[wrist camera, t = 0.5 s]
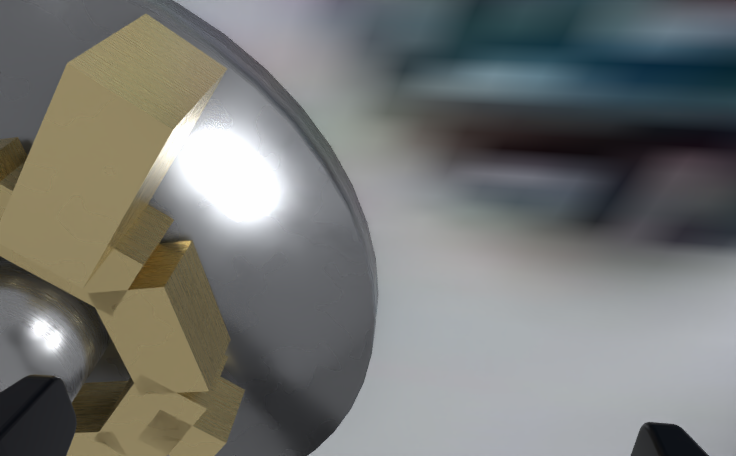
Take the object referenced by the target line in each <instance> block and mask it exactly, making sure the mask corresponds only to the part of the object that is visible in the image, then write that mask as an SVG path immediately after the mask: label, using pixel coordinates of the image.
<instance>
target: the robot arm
mask: <svg viewBox="0 0 736 456" xmlns="http://www.w3.org/2000/svg"><path fill="white" fill-rule="evenodd" d="M76 424H77V420H76V414H75V411H74V408H73V406H72V403H71V400H70V398H69V395H68V392H67V389H66V387H65V384H64V382H63V380H62V379H60V378H59V377H57V376H51V375H38V374H33V375H28V376H26V377H24V378H22V379H20V380H19V381H17V382H16V383H14V384H13V385H11V386H10V387H8V388H7V389H5V390H3V391H2V392H0V456H66V455H67V453H68V450H69V448H70V445H71V442H72V440H73V437H74V434H75V431H76ZM631 456H709V455H708V454H707V453H706V452H705V451H704V450H703V449H702V448H701V447H700V446H699V445H698V444H697V443H696V442H695V441H694V440H693V439H692V438H691V437H690V436H689V435H688V434H687V433H686V432H685V431H684V430H683V429H682V428H681V427H679V426H677V425H675V424H667V423H654V422H647V423H645V424H643V425H642V427H641V428H640V431H639V433H638V436H637V439H636V442H635V445H634V448H633V451H632V454H631Z"/></svg>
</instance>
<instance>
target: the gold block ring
mask: <svg viewBox="0 0 736 456" xmlns="http://www.w3.org/2000/svg"><path fill="white" fill-rule="evenodd" d="M226 70H227V68H226V67H224V66H223V65H221V64H220V63H218V62H217V61H216V60H214V59H213V58H211V57H210V56H208V55H207V54H205V53H204V52H202V51H201V50H199V49H198V48H196V47H195V46H193V45H192V44H190V43H189V42H187V41H186V40H184V39H183V38H182V37H180V36H179V35H177V34H176V33H174V32H173V31H171V30H170V29H168V28H167V27H165V26H164V25H162V24H161V23H159V22H158V21H156V20H155V19H153V18H152V17H150V16H149V15H147V14H144V15H143V16H141V17H140V18H138V19H136V20H135V21H133V22H132V23H130V24H128V25H127V26H125V27H124V28H122V29H120V30H119V31H117V32H116V33H114V34H113V35H111V36H109V37H108V38H106V39H105V40H103V41H101V42H100V43H98V44H97V45H95V46H93V47H92V48H90V49H89V50H87V51H85V52H84V53H82V54H81V55H79V56H78V57H76V58H74V59H73V60H71V61H70V62H68V63H67V64H66V67H65V69H64V72H63V74H62V76H61V79H60V81H59V83H58V86H57V88H56V90H55V93H54V95H53V98H52V100H51V102H50V105H49V107H48V109H47V112H46V114H45V116H44V119H43V121H42V124H41V126H40V128H39V131H38V133H37V135H36V138H35V140H34V142H33V145H32V147H31V150H30V152H29V154H28V156H27V154H26V152H25V150H24V148H23V146H22V144H21V142H20V140H19V138H18V137H14V138H6V139H0V256H1V257H3V258H5V259H6V260H8V261H10V262H12V263H14V264H16V265H17V266H19V267H21V268H23V269H25V270H27V271H29V272H30V273H32V274H34V275H36V276H38V277H40V278H42V279H43V280H45V281H47V282H49V283H51V284H53V285H55V286H56V287H58V288H60V289H62V290H64V291H66V292H68V293H69V294H71V295H73V296H75V297H77V298H79V299H80V300H82V301H84V302H86V303H88V304H90V305H92V306H93V307H95V308H96V310H97V312H98V314H99V316H100V318H101V320H102V322H103V324H104V326H105V328H106V330H107V331H108V333H109V335H110V337H111V339H112V341H113V343H114V345H115V347H116V349H117V351H118V353H119V355H120V357H121V359H122V361H123V362H124V364H125V366H126V368H127V370H128V372H129V374H130V376H131V377H130V379H129V380H128V381H111V382H92V383H84V384H83V386H82V388H81V389H80V391H79V392H78V394H77V395H76V397H75V398H74V400H73V402H72V406H73V408H74V411H75V414H76V420H77V424H76V431H75V434H74V437H73V440H72V442H71V445H70V448H69V450H68V453H67V455H66V456H167V455H170V456H215V455H216V454H217V453H218V452H219V450H220V449H221V448H222V447H223V446H224V445H225V444H226V443H227V440H228V437H229V434H230V431H231V429H232V426H233V423H234V420H235V417H236V414H237V412H238V409H239V406H240V403H241V400H242V397H243V394H244V392H245V390H244V389H243V388H241V387H239V386H237V385H235V384H233V383H231V382H230V381H228V380H226V379H224V378H222V377H220V376H221V373H222V371H223V369H224V366H225V364H226V361H227V359H228V356H226V355H224V354H225V352H226V349H227V347H228V345H229V342H230V340H231V339H230V336H229V334H228V331H227V329H226V326H225V323H224V321H223V318H222V316H221V313H220V310H219V308H218V305H217V303H216V300H215V298H214V295H213V292H212V290H211V287H210V285H209V282H208V279H207V277H206V274H205V272H204V269H203V266H202V264H201V261H200V259H199V256H198V253H197V251H196V248H195V246H194V243H193V240H189V241H178V242H168V243H160V242H161V240H162V238H163V237H164V235H165V234H166V232H167V230H168V229H169V227H170V226H171V224H172V223H173V221H174V219H172V218H170V217H169V216H167V215H165V214H164V213H162V212H160V211H159V210H157V209H155V208H154V207H152V206H150V205H149V202H150V200H151V198H152V197H153V195H154V193H155V192H156V190H157V188H158V186H159V185H160V183H161V181H162V180H163V178H164V176H165V175H166V173H167V171H168V169H169V168H170V166H171V164H172V163H173V161H174V159H175V157H176V156H177V154H178V152H179V151H180V149H181V147H182V146H183V144H184V142H185V140H186V139H187V137H188V135H189V134H190V132H191V130H192V128H193V127H194V125H195V123H196V122H197V120H198V118H199V117H200V115H201V113H202V111H203V110H204V108H205V106H206V105H207V103H208V101H209V99H210V98H211V96H212V94H213V93H214V91H215V89H216V88H217V86H218V84H219V82H220V81H221V79H222V77H223V76H224V74H225V72H226Z"/></svg>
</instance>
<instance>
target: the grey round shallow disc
mask: <svg viewBox="0 0 736 456" xmlns="http://www.w3.org/2000/svg"><path fill="white" fill-rule="evenodd" d="M144 14H147V15H149V16H150V17H152V18H153V19H155V20H156V21H158V22H159V23H161V24H162V25H164V26H165V27H167V28H168V29H170V30H171V31H173V32H174V33H176V34H177V35H179V36H180V37H182V38H183V39H184V40H186V41H187V42H189V43H190V44H192V45H193V46H195V47H196V48H198V49H199V50H201V51H202V52H204V53H205V54H207V55H208V56H210V57H211V58H213V59H214V60H216V61H217V62H218V63H220V64H221V65H223V66H224V67H226V68H227V70H226V72H225V74H224V76H223V77H222V79H221V81H220V82H219V84H218V86H217V88H216V89H215V91H214V93H213V94H212V96H211V98H210V99H209V101H208V103H207V105H206V106H205V108H204V110H203V111H202V113H201V115H200V117H199V118H198V120H197V122H196V123H195V125H194V127H193V128H192V130H191V132H190V134H189V135H188V137H187V139H186V140H185V142H184V144H183V146H182V147H181V149H180V151H179V152H178V154H177V156H176V157H175V159H174V161H173V163H172V164H171V166H170V168H169V169H168V171H167V173H166V175H165V176H164V178H163V180H162V181H161V183H160V185H159V186H158V188H157V190H156V192H155V193H154V195H153V197H152V198H151V200H150V202H149V205H150V206H152V207H154V208H155V209H157V210H159V211H160V212H162V213H164V214H165V215H167V216H169V217H170V218H172V219H174V221H173V223H172V224H171V226H170V227H169V229H168V230H167V232H166V234H165V235H164V237H163V238H162V240H161V242H160V243H168V242H178V241H189V240H193V243H194V246H195V248H196V251H197V253H198V256H199V259H200V261H201V264H202V266H203V269H204V272H205V274H206V277H207V279H208V282H209V285H210V287H211V290H212V292H213V295H214V298H215V300H216V303H217V305H218V308H219V310H220V313H221V316H222V318H223V321H224V323H225V326H226V329H227V331H228V334H229V336H230V339H231V340H230V342H229V345H228V347H227V349H226V352H225V354H224V355H226V356H228V359H227V361H226V364H225V366H224V369H223V371H222V373H221V376H220V377H222V378H224V379H226V380H228V381H230V382H231V383H233V384H235V385H237V386H239V387H241V388H243V389H244V390H245V392H244V394H243V397H242V400H241V403H240V406H239V409H238V412H237V414H236V417H235V420H234V423H233V426H232V429H231V431H230V434H229V437H228V440H227V443H226V444H225V445H224V446H223V447H222V448H221V449H220V450H219V452H218V453H217V454H216V455H215V456H307V455H309V454H310V453H312V452H313V451H314V450H316V449H317V448H318V447H319V446H320V445H321V444H322V443H323V442H324V441H325V440H326V439H327V438H328V437H329V436H330V435H331V434H332V433H333V432H334V431H335V430H336V428H337V427H338V426H339V424H340V423H341V422H342V420H343V419H344V418H345V416H346V415H347V413H348V412H349V411H350V409H351V408H352V406H353V404H354V401H355V399H356V397H357V395H358V393H359V391H360V389H361V387H362V385H363V383H364V379H365V376H366V372H367V369H368V365H369V361H370V358H371V354H372V347H373V340H374V332H375V325H376V314H377V304H378V282H377V268H376V258H375V254H374V250H373V245H372V241H371V237H370V232H369V228H368V224H367V221H366V219H365V216H364V213H363V211H362V208H361V206H360V203H359V201H358V198H357V196H356V193H355V191H354V188H353V185H352V184H351V182H350V180H349V178H348V176H347V175H346V173H345V171H344V169H343V167H342V166H341V164H340V162H339V160H338V159H337V157H336V155H335V153H334V151H333V150H332V148H331V146H330V145H329V143H328V142H327V141H326V139H325V138H324V137H323V135H322V134H321V132H320V131H319V130H318V128H317V127H316V126H315V124H314V123H313V122H312V120H311V119H310V118H309V116H308V115H307V114H306V112H305V111H304V109H303V108H302V107H301V106H300V105H299V104H298V103H297V102H296V100H295V99H294V98H293V97H292V96H291V95H290V94H289V93H288V92H287V91H286V90H285V89H284V88H283V87H282V86H281V85H280V83H279V82H278V81H277V80H276V79H275V78H274V77H273V76H272V75H271V74H270V73H269V72H268V71H267V70H266V69H265V68H264V67H263V66H262V65H260V64H259V63H258V62H257V61H256V60H254V59H253V58H252V57H251V56H250V55H248V54H247V53H246V52H245V51H244V50H243V49H241V48H240V47H239V46H238V45H237V44H235V43H234V42H233V41H232V40H231V39H229V38H228V37H227V36H226V35H225V34H223V33H222V32H220V31H219V30H217V29H216V28H214V27H213V26H211V25H210V24H208V23H207V22H205V21H204V20H202V19H201V18H199V17H198V16H196V15H195V14H193V13H192V12H190V11H189V10H187V9H186V8H184V7H183V6H181V5H180V4H178V3H176V2H174V1H172V0H0V139H6V138H14V137H18V138H19V140H20V142H21V144H22V146H23V148H24V150H25V152H26V154H27V156H28V154H29V152H30V150H31V147H32V145H33V142H34V140H35V138H36V135H37V133H38V131H39V128H40V126H41V124H42V121H43V119H44V116H45V114H46V112H47V109H48V107H49V105H50V102H51V100H52V98H53V95H54V93H55V90H56V88H57V86H58V83H59V81H60V79H61V76H62V74H63V72H64V69H65V67H66V64H67V63H68V62H70V61H71V60H73V59H74V58H76V57H78V56H79V55H81V54H82V53H84V52H85V51H87V50H89V49H90V48H92V47H93V46H95V45H97V44H98V43H100V42H101V41H103V40H105V39H106V38H108V37H109V36H111V35H113V34H114V33H116V32H117V31H119V30H120V29H122V28H124V27H125V26H127V25H128V24H130V23H132V22H133V21H135V20H136V19H138V18H140V17H141V16H143V15H144ZM33 374H38V375H51V376H57V377H59V378H60V379H62V380H63V382H64V384H65V387H66V389H67V392H68V395H69V398H70V400H71V403H72V402H73V400H74V398H75V397H76V395H77V394H78V392H79V391H80V389H81V388H82V386H83V384H84V383H92V382H111V381H128V380H129V379H130V377H131V376H130V374H129V372H128V370H127V368H126V366H125V364H124V362H123V361H122V359H121V357H120V355H119V353H118V351H117V349H116V347H115V345H114V343H113V341H112V339H111V337H110V335H109V333H108V331H107V330H106V328H105V326H104V324H103V322H102V320H101V318H100V316H99V314H98V312H97V310H96V308H95V307H93V306H92V305H90V304H88V303H86V302H84V301H82V300H80V299H79V298H77V297H75V296H73V295H71V294H69V293H68V292H66V291H64V290H62V289H60V288H58V287H56V286H55V285H53V284H51V283H49V282H47V281H45V280H43V279H42V278H40V277H38V276H36V275H34V274H32V273H30V272H29V271H27V270H25V269H23V268H21V267H19V266H17V265H16V264H14V263H12V262H10V261H8V260H6V259H5V258H3V257H1V256H0V392H2V391H3V390H5V389H7V388H8V387H10V386H11V385H13V384H14V383H16V382H17V381H19V380H20V379H22V378H24V377H26V376H28V375H33ZM167 456H170V455H167Z"/></svg>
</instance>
